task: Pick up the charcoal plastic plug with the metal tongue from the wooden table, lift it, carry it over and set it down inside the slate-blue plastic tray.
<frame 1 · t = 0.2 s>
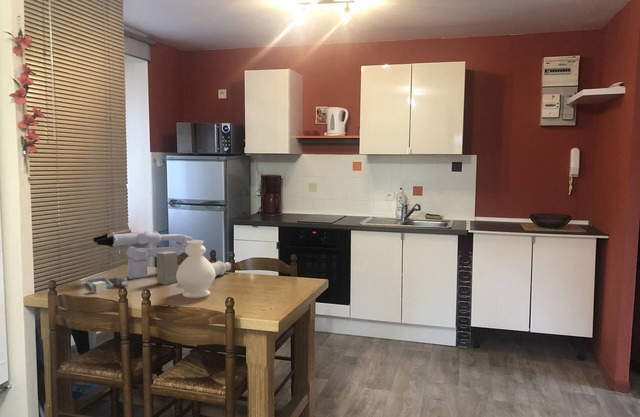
hand: (95, 241, 261), 21 cm above the table, tool horizontal, fingers open, 7 cm apart
bottle: (210, 278, 272), on the table
tray: (99, 285, 256), on the table
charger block: (99, 291, 244), on the table
plug: (121, 285, 257), on the table
decorative vase: (196, 294, 241), on the table
skincare box: (167, 283, 262), on the table
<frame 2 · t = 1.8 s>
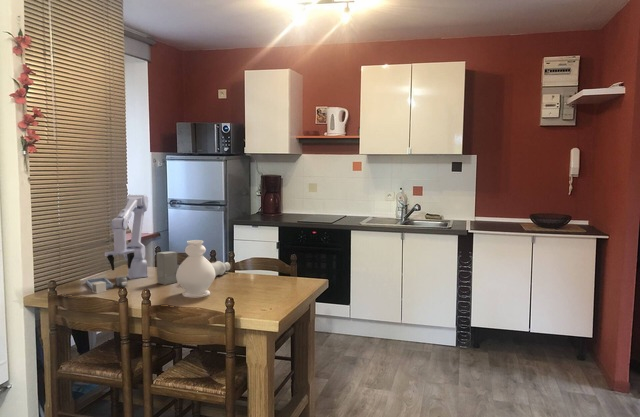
hand: (121, 269, 256), 8 cm above the table, tool pointing down, fingers open, 7 cm apart
nothing on the table moved.
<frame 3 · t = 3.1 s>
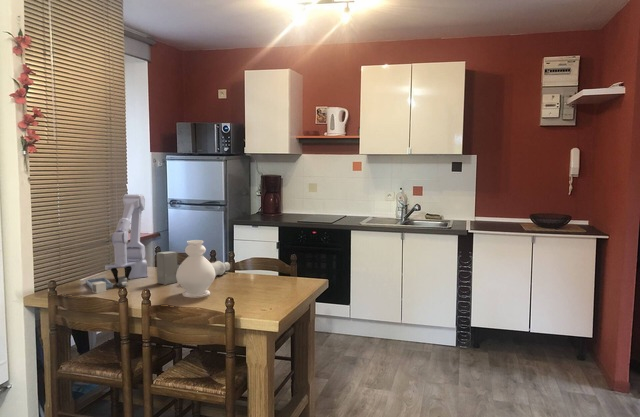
hand: (121, 282, 257), 1 cm above the table, tool pointing down, fingers closed on plug, 4 cm apart
plug: (121, 285, 257), on the table, touching gripper
everything else where it was.
when the fingers open (3 cm above the table, at t = 6.0 s): plug stays where it is, resting on tray.
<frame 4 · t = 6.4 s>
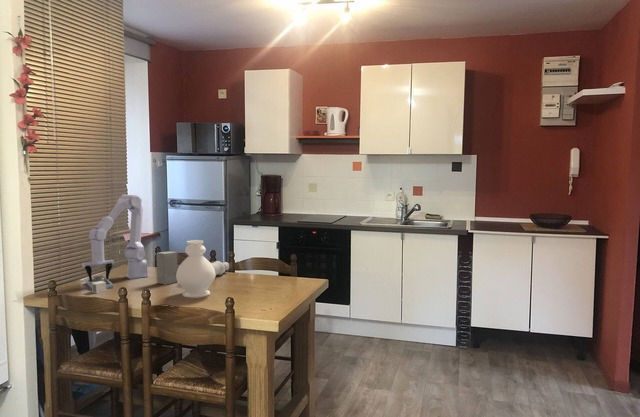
hand: (99, 279, 255), 3 cm above the table, tool pointing down, fingers open, 7 cm apart
plug: (99, 284, 255), resting on tray
everything else where it was.
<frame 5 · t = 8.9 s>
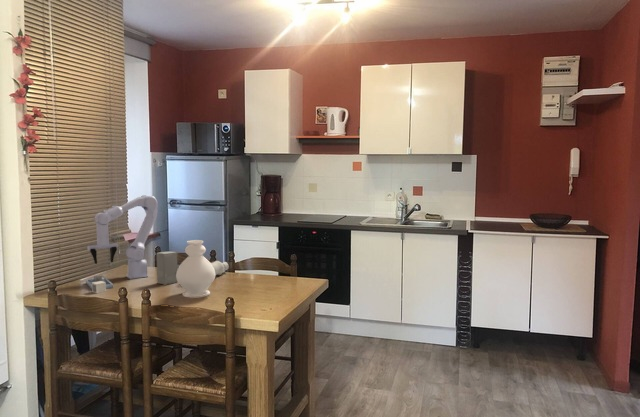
hand: (103, 262, 263), 10 cm above the table, tool pointing down, fingers open, 7 cm apart
nothing on the table moved.
at the end: plug inside the target area on the tray (0.1 cm from its centre), point 0.5 cm above the tray's base; plug tilted 0°; the gripper is holding nothing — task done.
